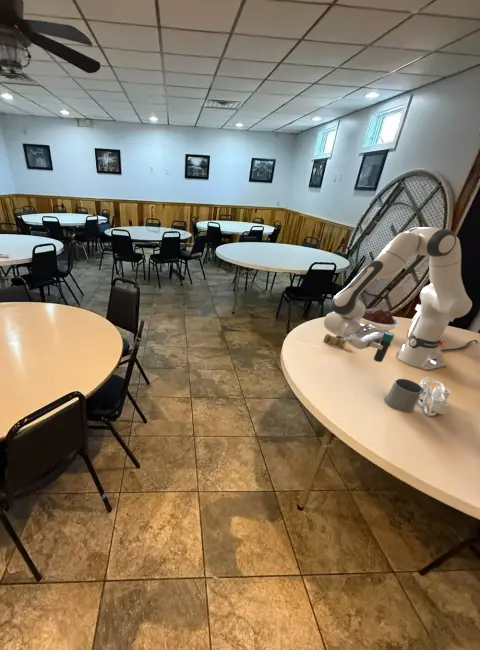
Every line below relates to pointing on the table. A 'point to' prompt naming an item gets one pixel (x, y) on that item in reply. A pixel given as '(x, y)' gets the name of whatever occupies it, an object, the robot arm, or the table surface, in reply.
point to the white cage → (435, 397)
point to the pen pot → (404, 395)
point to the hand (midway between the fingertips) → (386, 346)
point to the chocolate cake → (379, 319)
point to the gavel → (334, 340)
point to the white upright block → (417, 316)
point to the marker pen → (386, 342)
